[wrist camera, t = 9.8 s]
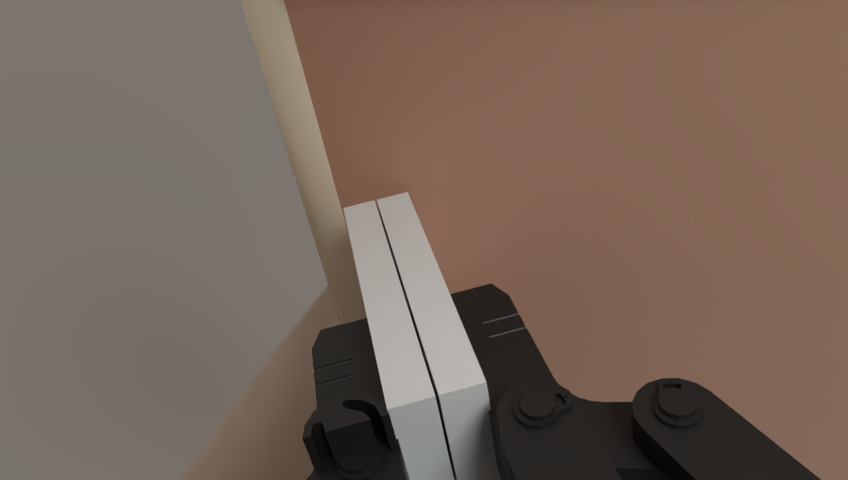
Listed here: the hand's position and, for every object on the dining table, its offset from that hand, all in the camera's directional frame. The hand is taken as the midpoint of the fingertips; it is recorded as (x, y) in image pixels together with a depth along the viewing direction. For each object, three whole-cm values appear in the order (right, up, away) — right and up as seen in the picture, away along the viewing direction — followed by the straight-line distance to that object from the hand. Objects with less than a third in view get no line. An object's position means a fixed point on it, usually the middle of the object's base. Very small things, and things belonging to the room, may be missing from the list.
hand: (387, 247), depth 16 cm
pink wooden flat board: (+5, -4, +2) cm, 7 cm away
